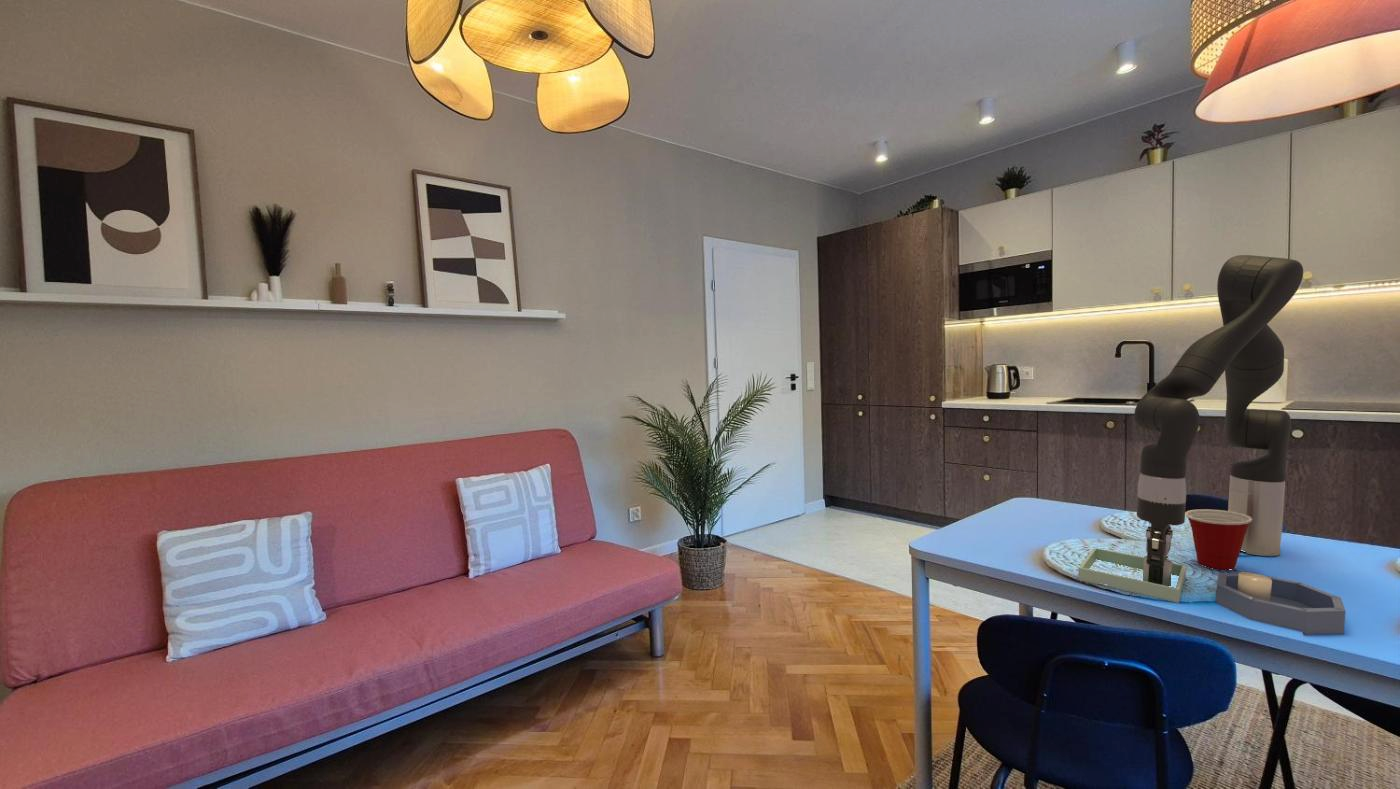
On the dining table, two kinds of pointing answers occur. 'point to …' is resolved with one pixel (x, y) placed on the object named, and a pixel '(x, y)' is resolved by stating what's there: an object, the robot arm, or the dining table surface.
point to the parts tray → (1130, 583)
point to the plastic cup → (1218, 536)
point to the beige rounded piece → (1166, 570)
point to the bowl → (1285, 605)
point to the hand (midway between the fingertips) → (1156, 579)
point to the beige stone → (1255, 585)
